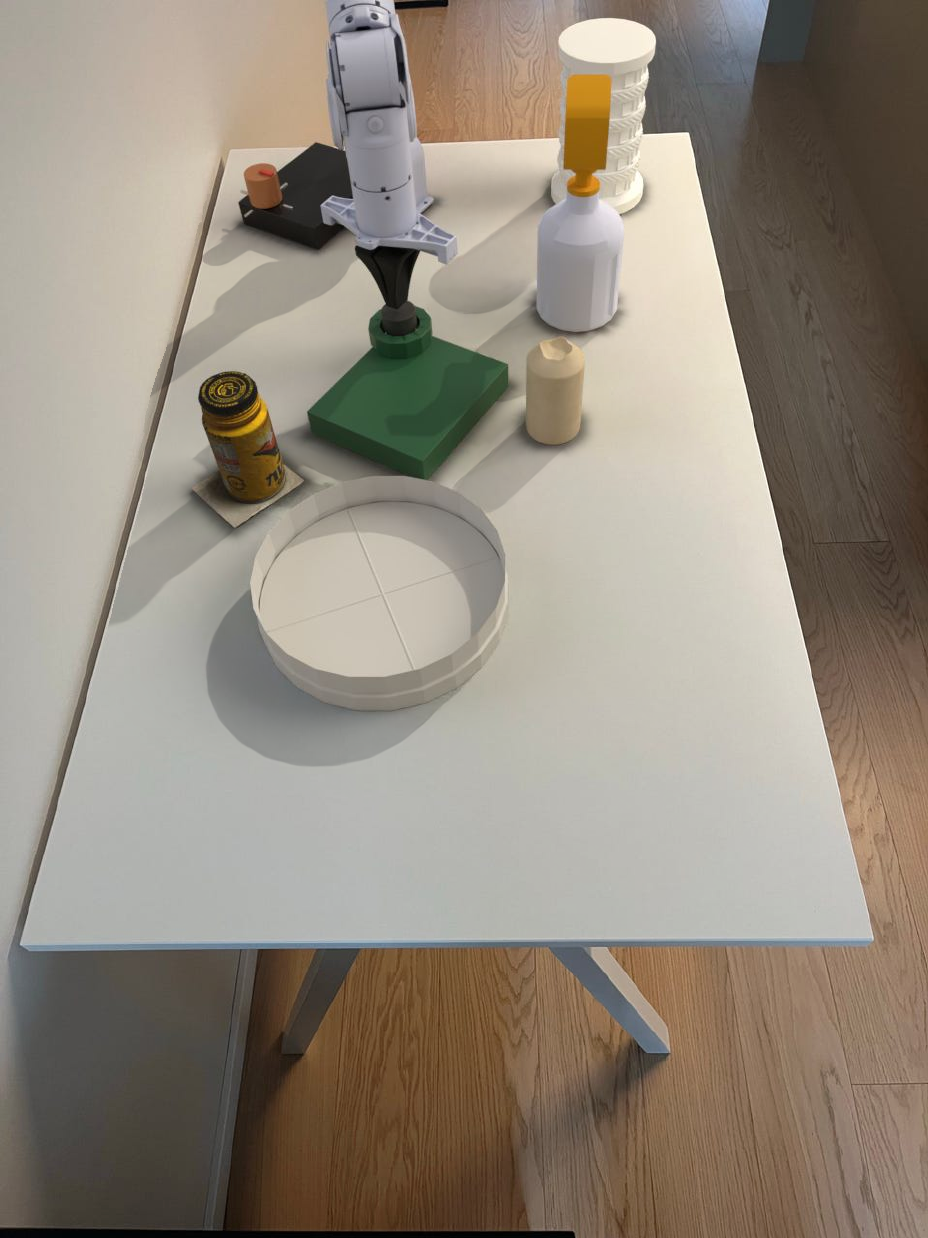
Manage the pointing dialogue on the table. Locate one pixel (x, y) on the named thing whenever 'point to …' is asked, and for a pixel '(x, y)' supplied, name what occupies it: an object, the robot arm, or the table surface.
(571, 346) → the candle
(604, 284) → the soap bottle
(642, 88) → the decorative container
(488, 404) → the button base
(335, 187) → the panel
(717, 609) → the table surface
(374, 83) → the robot arm
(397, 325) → the dark grey short cylinder
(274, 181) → the dial
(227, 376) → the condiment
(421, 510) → the dish
